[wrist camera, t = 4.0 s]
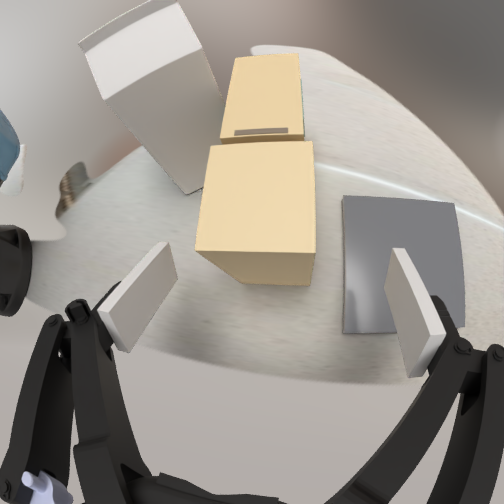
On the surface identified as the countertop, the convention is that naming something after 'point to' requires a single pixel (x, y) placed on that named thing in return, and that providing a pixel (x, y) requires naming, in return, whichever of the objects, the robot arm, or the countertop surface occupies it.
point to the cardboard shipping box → (264, 101)
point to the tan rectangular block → (260, 212)
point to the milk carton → (160, 87)
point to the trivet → (379, 253)
